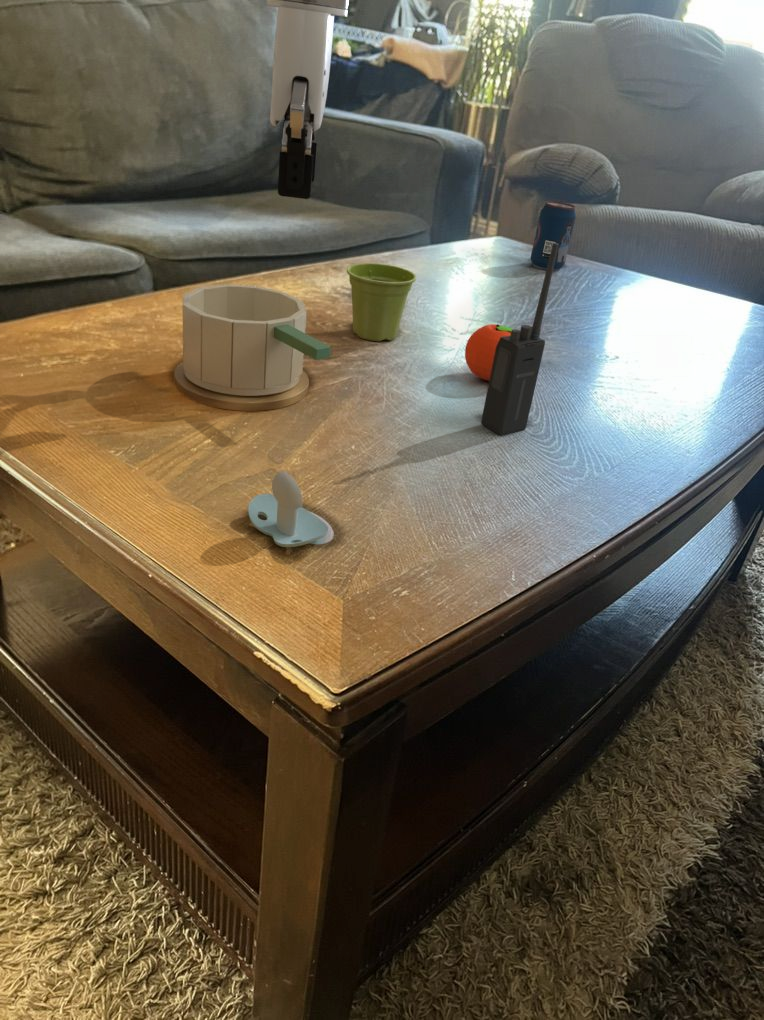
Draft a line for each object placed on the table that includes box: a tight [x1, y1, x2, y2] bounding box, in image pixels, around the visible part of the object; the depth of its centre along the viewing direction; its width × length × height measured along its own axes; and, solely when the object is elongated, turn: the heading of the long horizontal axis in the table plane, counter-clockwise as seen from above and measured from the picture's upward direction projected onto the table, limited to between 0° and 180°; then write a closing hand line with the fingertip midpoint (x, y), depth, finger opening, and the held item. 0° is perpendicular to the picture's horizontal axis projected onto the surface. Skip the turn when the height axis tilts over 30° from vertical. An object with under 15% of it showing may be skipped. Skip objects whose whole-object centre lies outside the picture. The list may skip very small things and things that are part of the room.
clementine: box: [464, 323, 514, 382], centre depth 97 cm, size 8×7×7 cm
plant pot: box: [346, 262, 417, 342], centre depth 106 cm, size 9×9×9 cm
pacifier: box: [247, 470, 335, 548], centre depth 62 cm, size 7×6×6 cm
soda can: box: [530, 200, 577, 272], centre depth 153 cm, size 7×7×12 cm
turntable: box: [173, 360, 310, 412], centre depth 88 cm, size 15×15×1 cm
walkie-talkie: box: [480, 243, 559, 436], centre depth 82 cm, size 5×3×20 cm
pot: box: [181, 283, 332, 396], centre depth 84 cm, size 13×20×8 cm, turn 43°
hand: (296, 188), depth 81 cm, fingers open, 9 cm apart
